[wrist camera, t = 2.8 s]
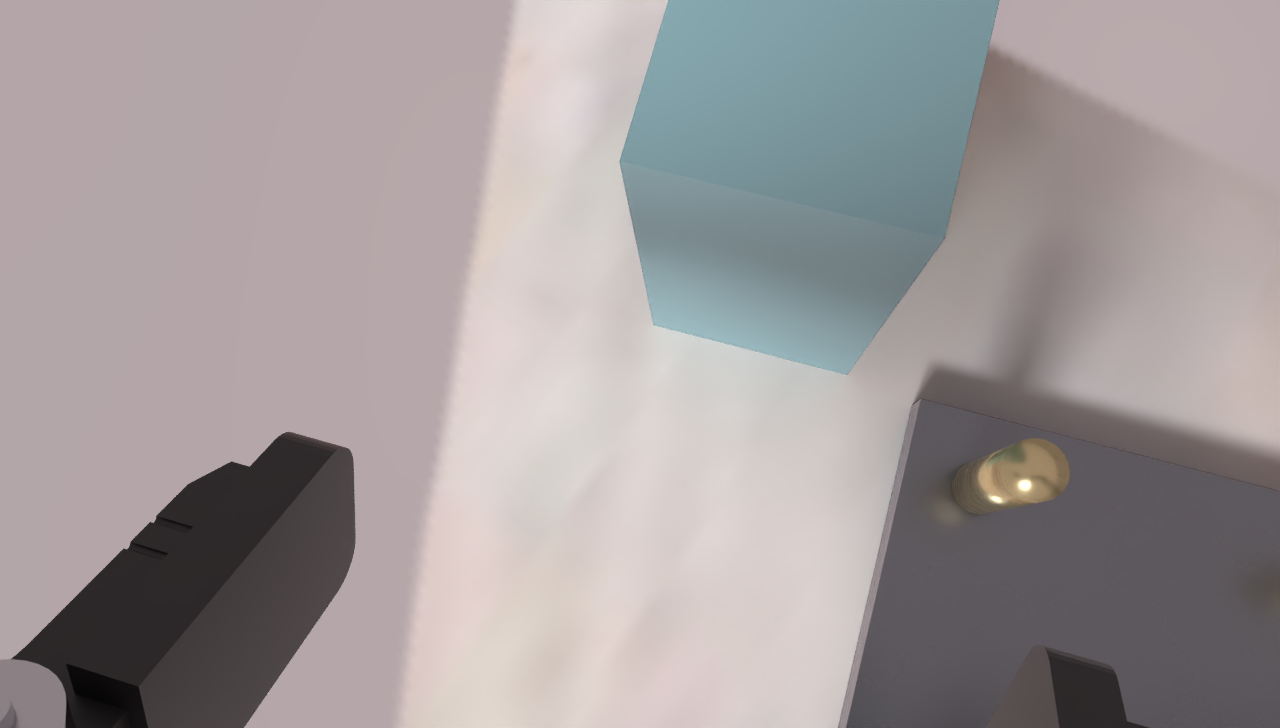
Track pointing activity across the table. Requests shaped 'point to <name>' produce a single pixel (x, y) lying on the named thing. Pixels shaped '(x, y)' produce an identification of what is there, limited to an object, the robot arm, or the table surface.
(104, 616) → the robot arm
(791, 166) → the teal block
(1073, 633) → the chassis plate
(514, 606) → the table surface
